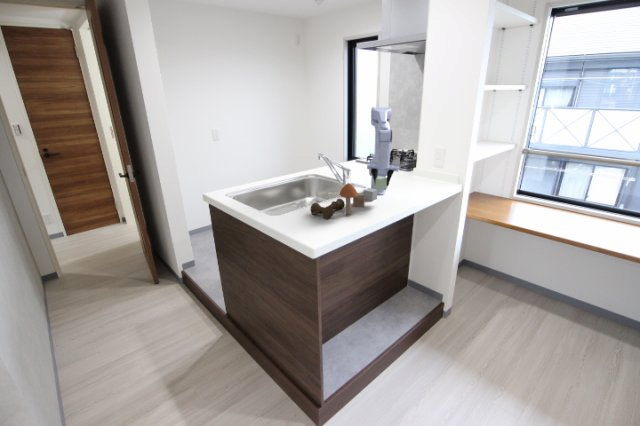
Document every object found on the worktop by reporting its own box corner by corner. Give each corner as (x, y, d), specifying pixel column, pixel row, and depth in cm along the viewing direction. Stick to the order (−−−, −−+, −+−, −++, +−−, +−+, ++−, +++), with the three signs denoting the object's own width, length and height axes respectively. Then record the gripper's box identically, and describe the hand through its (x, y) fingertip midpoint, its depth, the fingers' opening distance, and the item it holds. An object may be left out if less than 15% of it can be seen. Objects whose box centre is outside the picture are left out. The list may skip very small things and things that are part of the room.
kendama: (349, 211, 149) (319, 223, 135) (333, 207, 155) (304, 218, 141) (349, 199, 147) (319, 209, 133) (333, 195, 153) (303, 205, 140)
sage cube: (377, 186, 156) (378, 176, 154) (387, 187, 154) (388, 177, 152) (375, 189, 152) (375, 179, 150) (385, 190, 150) (386, 180, 148)
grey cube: (368, 197, 166) (368, 187, 165) (376, 198, 164) (377, 189, 162) (363, 199, 163) (363, 190, 161) (372, 201, 160) (372, 192, 158)
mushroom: (342, 219, 139) (342, 186, 133) (336, 213, 146) (336, 181, 140) (359, 217, 141) (360, 184, 135) (353, 211, 148) (353, 179, 142)
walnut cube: (354, 203, 158) (354, 193, 156) (364, 204, 157) (364, 194, 155) (352, 207, 153) (353, 197, 151) (363, 207, 152) (363, 197, 150)
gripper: (365, 157, 146) (364, 185, 151) (397, 159, 141) (395, 188, 146) (369, 154, 152) (368, 181, 158) (400, 156, 147) (398, 184, 152)
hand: (381, 184), depth 152 cm, fingers closed on sage cube, 5 cm apart
